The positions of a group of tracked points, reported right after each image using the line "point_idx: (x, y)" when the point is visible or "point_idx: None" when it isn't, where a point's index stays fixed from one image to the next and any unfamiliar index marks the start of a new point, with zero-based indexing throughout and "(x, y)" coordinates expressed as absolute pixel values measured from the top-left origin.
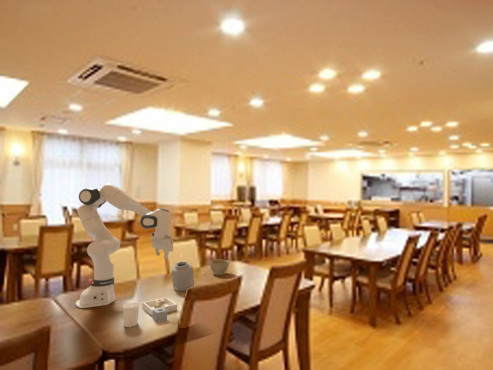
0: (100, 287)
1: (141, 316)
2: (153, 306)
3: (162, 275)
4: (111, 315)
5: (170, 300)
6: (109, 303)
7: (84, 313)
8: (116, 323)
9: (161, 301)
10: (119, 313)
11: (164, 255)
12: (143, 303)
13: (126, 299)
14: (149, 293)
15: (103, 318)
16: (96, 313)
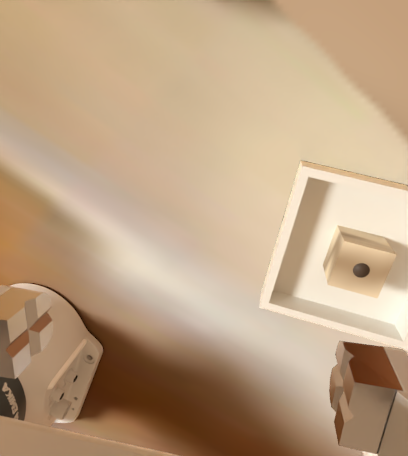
0: (25, 419)
1: None
2: (299, 253)
3: None
4: (230, 406)
5: (377, 187)
6: (97, 341)
7: (134, 437)
8: (325, 442)
9: (385, 274)
10: (235, 379)
11: (355, 440)
12: (274, 310)
13: (87, 261)
14: (73, 121)
15: (235, 435)
16: (165, 419)
